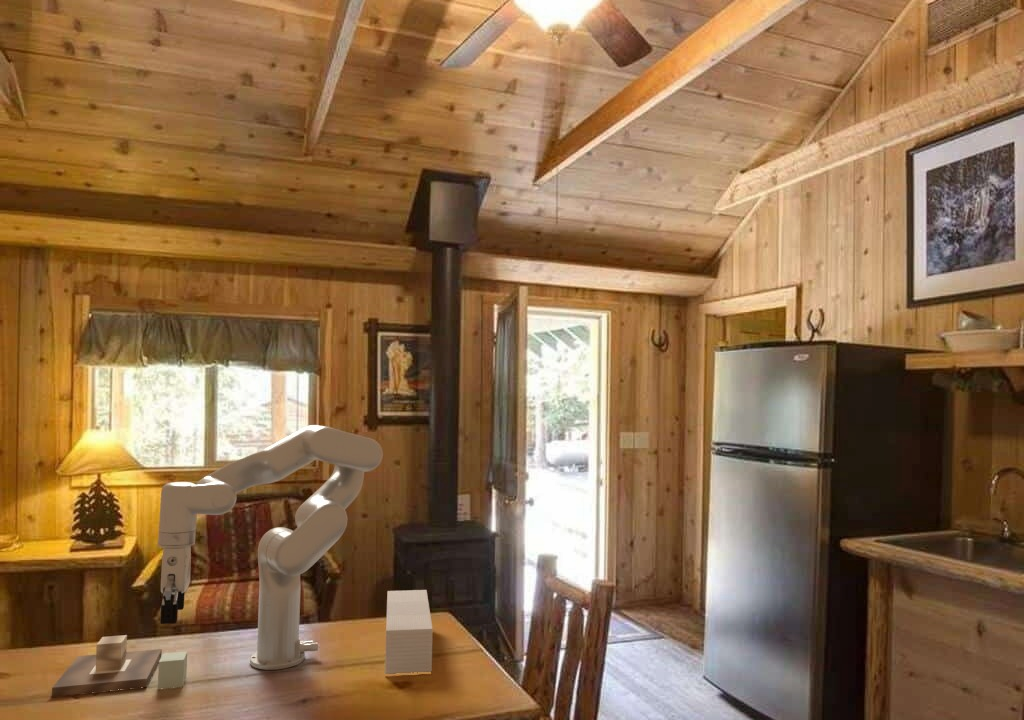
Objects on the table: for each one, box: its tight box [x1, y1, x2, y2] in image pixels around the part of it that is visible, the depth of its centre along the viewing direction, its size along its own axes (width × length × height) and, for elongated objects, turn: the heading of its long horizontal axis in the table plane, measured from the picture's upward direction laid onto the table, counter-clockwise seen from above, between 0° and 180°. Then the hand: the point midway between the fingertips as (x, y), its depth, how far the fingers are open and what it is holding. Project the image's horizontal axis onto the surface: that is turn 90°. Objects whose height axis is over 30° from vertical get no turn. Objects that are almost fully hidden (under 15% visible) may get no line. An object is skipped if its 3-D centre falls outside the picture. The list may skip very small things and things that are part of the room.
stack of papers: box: [384, 589, 434, 675], centre depth 178 cm, size 32×11×11 cm, turn 9°
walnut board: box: [51, 648, 163, 698], centre depth 159 cm, size 18×18×2 cm
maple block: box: [95, 634, 128, 672], centre depth 159 cm, size 5×5×6 cm
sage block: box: [157, 651, 188, 690], centre depth 155 cm, size 5×5×6 cm
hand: (172, 616), depth 155 cm, fingers open, 9 cm apart
